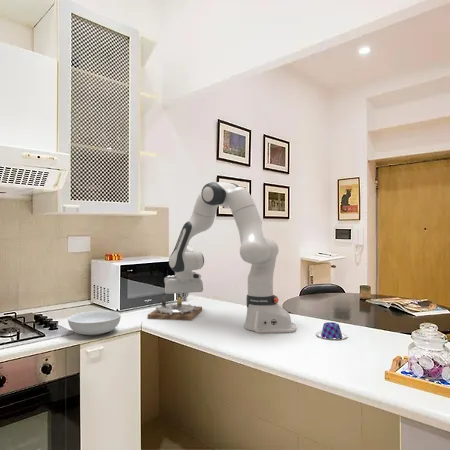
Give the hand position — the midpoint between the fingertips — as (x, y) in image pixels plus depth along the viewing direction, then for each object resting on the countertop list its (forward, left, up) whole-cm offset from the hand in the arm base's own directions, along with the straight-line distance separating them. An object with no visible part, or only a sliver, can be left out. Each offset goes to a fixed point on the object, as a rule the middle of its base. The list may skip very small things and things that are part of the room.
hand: (184, 301), depth 195 cm
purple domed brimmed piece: (-71, +36, -6) cm, 80 cm away
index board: (+2, +8, -5) cm, 10 cm away
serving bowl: (+26, +45, -5) cm, 52 cm away
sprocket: (+2, +8, -3) cm, 9 cm away
